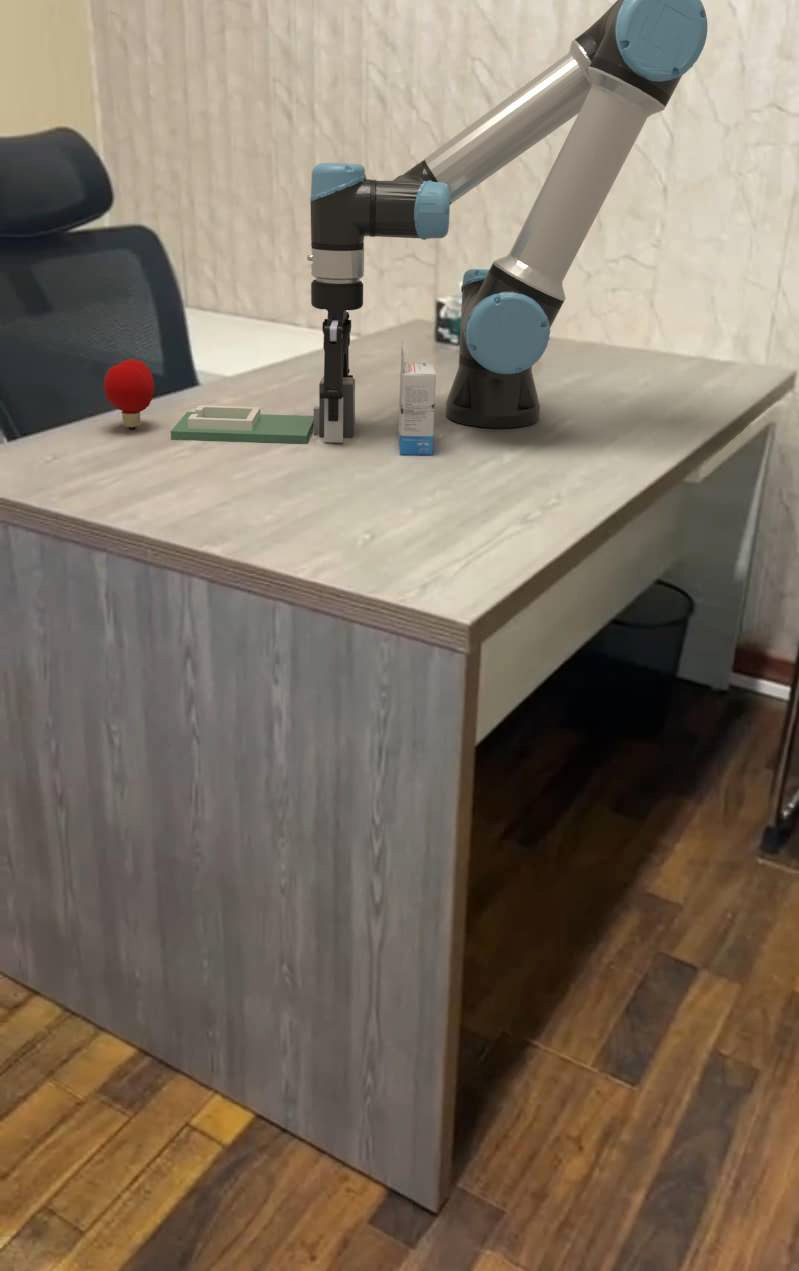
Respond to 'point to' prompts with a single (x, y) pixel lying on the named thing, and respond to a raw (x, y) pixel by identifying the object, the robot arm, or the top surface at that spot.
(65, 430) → the top surface
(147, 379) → the light bulb
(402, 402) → the ink box
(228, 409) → the board
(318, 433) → the plug
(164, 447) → the top surface
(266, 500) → the top surface
